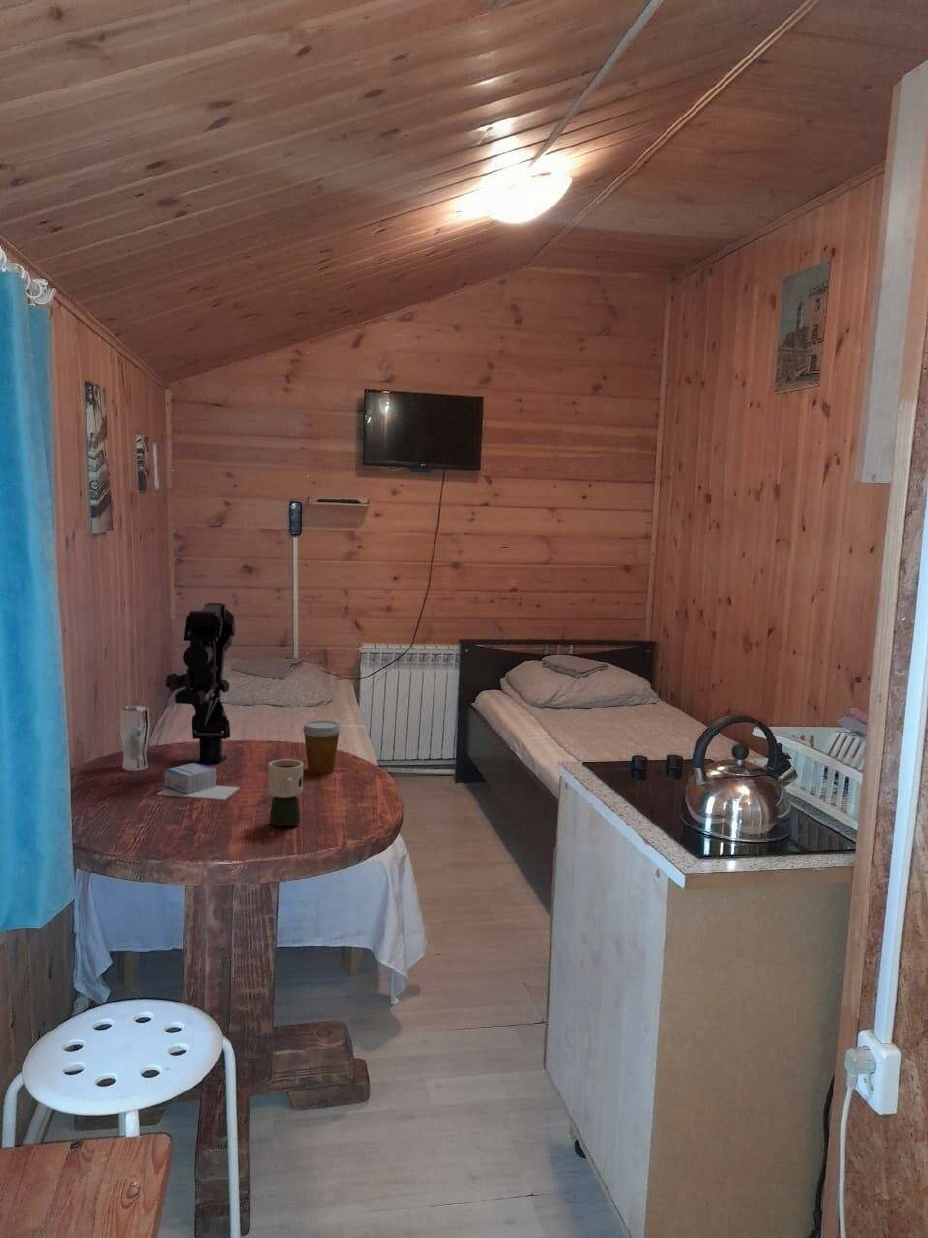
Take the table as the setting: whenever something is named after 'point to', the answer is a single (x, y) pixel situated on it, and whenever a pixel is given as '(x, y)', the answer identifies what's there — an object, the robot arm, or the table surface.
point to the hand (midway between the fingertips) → (202, 726)
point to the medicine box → (190, 778)
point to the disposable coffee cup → (321, 745)
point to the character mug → (285, 791)
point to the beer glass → (134, 736)
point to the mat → (204, 793)
